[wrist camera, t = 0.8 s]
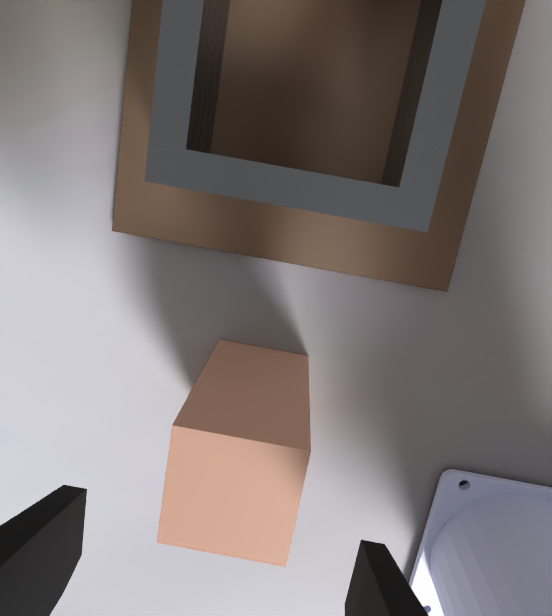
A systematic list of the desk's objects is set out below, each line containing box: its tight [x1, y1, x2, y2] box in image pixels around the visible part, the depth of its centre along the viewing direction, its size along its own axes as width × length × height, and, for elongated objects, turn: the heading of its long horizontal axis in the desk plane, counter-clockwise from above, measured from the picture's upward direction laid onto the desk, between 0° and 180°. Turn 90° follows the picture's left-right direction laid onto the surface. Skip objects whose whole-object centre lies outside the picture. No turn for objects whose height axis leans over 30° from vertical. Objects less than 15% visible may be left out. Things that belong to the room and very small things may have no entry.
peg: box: [157, 339, 311, 567], centre depth 18 cm, size 4×4×8 cm
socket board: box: [112, 0, 525, 292], centre depth 17 cm, size 14×14×4 cm
